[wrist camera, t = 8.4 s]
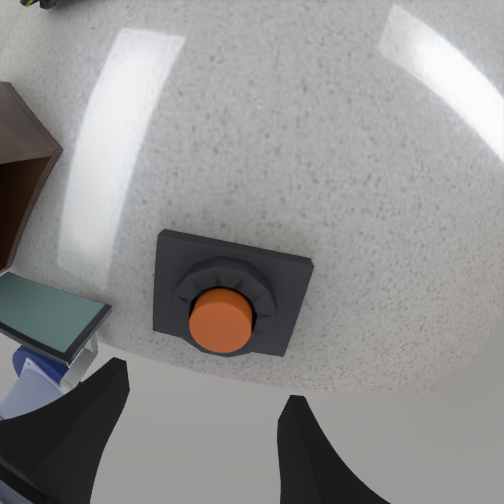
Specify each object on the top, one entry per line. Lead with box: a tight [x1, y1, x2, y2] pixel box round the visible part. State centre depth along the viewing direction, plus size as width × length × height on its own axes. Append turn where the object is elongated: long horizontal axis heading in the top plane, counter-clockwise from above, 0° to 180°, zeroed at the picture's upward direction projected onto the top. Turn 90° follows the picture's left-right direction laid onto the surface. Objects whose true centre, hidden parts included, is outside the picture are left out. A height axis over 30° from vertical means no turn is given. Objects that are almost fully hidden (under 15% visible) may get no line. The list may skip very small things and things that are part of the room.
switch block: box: [153, 229, 314, 357], centre depth 18 cm, size 10×8×3 cm
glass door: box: [0, 272, 112, 393], centre depth 16 cm, size 5×13×7 cm, turn 80°
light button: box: [189, 288, 252, 353], centre depth 16 cm, size 4×4×2 cm
